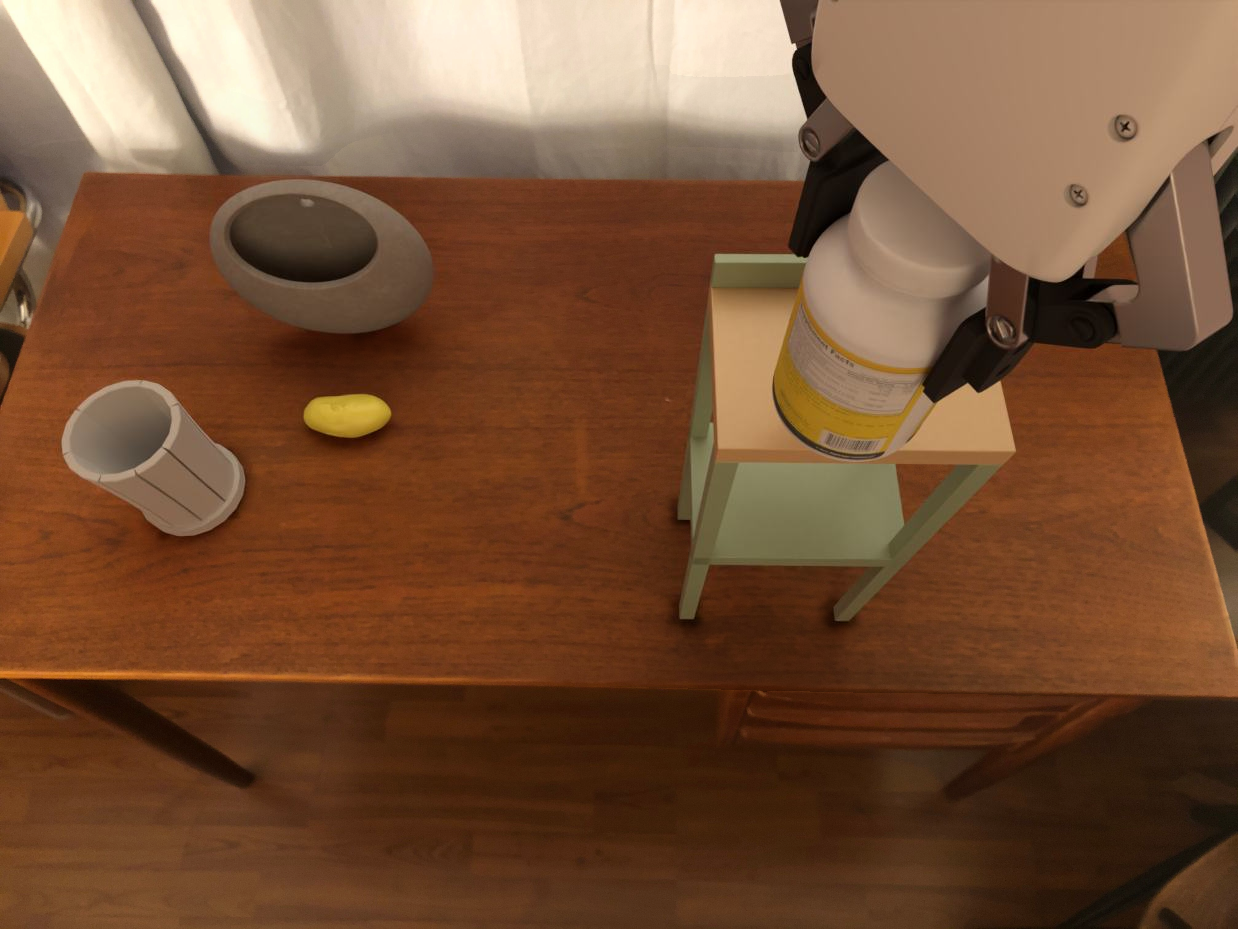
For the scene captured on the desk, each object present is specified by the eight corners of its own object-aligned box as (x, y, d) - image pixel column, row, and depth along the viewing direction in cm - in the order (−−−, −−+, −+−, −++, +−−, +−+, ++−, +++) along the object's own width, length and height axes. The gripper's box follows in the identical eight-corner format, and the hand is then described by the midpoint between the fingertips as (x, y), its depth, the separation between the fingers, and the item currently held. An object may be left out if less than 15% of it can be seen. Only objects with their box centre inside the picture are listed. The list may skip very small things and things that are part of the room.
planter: (260, 362, 77) (156, 226, 60) (269, 302, 80) (173, 158, 63) (451, 350, 78) (401, 212, 61) (453, 291, 81) (406, 144, 64)
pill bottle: (896, 331, 36) (1006, 120, 25) (939, 459, 33) (1081, 281, 23) (754, 347, 36) (806, 140, 25) (785, 477, 33) (858, 306, 22)
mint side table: (849, 621, 66) (1528, -65, 16) (679, 619, 66) (832, -64, 16) (836, 509, 70) (1343, -306, 20) (677, 507, 70) (794, -303, 21)
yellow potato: (316, 403, 75) (300, 382, 72) (399, 407, 75) (388, 385, 71) (306, 443, 73) (290, 423, 70) (392, 446, 73) (380, 426, 70)
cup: (111, 508, 71) (17, 447, 60) (175, 425, 74) (98, 354, 64) (207, 553, 69) (129, 499, 58) (268, 466, 72) (205, 400, 62)
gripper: (2026, -243, 10) (1154, 436, 26) (1009, -612, 16) (819, 117, 32) (1690, -28, 8) (982, 554, 24) (705, -535, 14) (665, 193, 31)
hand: (890, 301), depth 28 cm, fingers closed on pill bottle, 6 cm apart
